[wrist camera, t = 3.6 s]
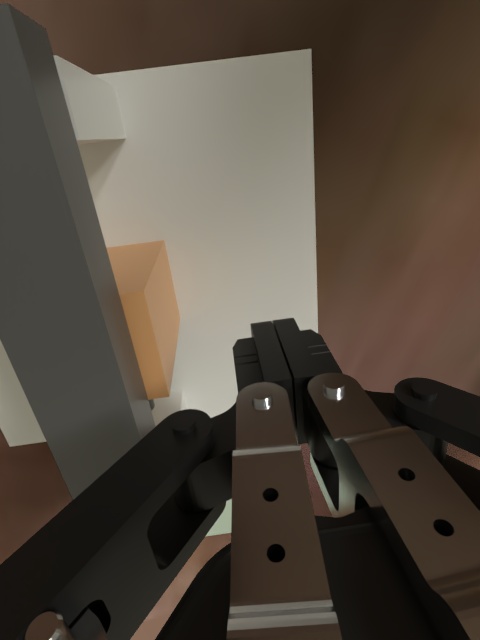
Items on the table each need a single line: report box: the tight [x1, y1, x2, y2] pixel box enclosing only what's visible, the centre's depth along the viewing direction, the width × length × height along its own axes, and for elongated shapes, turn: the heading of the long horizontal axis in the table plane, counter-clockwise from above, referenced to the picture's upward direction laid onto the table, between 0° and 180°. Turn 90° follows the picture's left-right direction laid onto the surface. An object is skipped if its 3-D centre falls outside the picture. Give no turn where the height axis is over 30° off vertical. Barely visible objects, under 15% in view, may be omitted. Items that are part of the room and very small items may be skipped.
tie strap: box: [0, 4, 156, 500], centre depth 13 cm, size 3×19×2 cm, turn 7°
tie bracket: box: [0, 49, 318, 447], centre depth 18 cm, size 20×19×8 cm
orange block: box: [106, 240, 180, 411], centre depth 18 cm, size 4×8×7 cm, turn 7°
